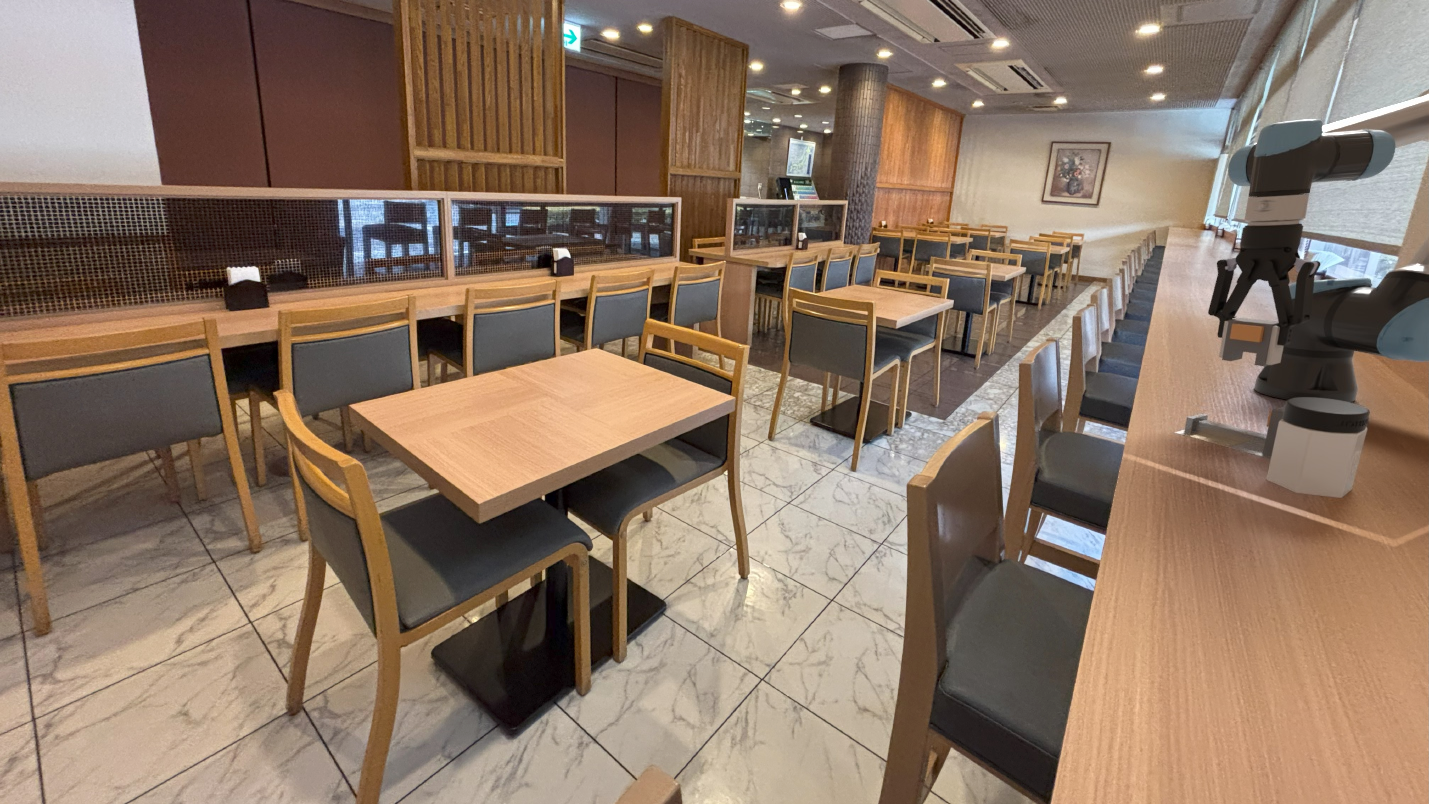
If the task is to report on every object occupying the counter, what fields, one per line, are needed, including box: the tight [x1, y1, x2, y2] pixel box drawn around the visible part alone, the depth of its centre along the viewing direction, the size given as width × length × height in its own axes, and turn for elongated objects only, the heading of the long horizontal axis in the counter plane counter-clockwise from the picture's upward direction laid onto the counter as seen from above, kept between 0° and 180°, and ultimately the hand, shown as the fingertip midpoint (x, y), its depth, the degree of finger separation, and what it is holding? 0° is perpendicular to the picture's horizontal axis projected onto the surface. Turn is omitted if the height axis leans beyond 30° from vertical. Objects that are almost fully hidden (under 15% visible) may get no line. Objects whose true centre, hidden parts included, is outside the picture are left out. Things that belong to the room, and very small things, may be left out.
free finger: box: [1221, 317, 1279, 367], centre depth 108 cm, size 4×6×7 cm, turn 23°
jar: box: [1266, 397, 1371, 499], centre depth 84 cm, size 9×8×12 cm
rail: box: [1173, 413, 1271, 460], centre depth 100 cm, size 9×20×3 cm, turn 23°
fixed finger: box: [1263, 405, 1285, 456], centre depth 96 cm, size 4×6×7 cm, turn 113°
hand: (1248, 359), depth 109 cm, fingers closed on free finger, 6 cm apart
